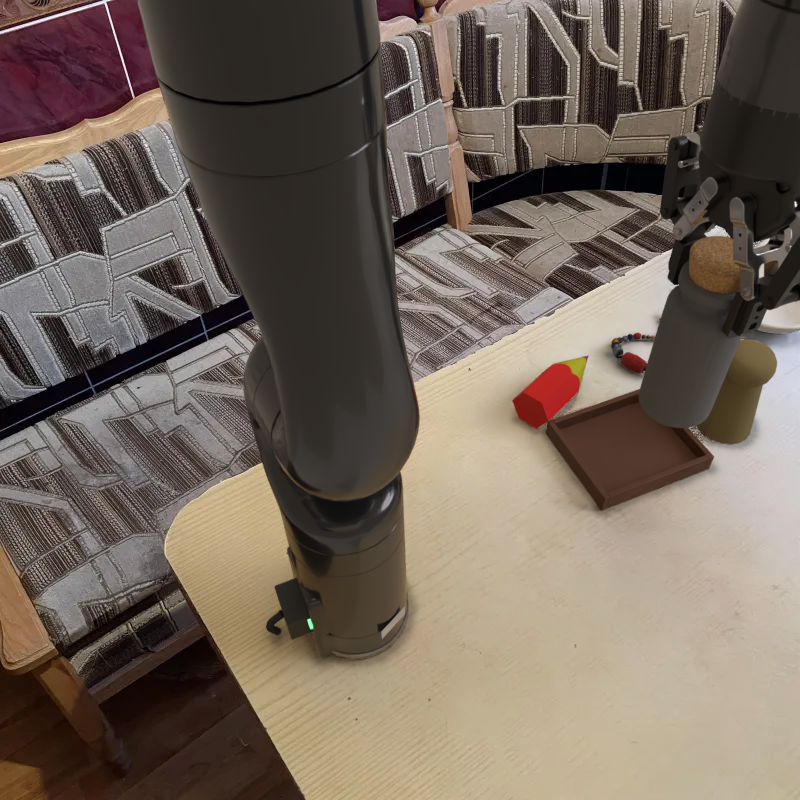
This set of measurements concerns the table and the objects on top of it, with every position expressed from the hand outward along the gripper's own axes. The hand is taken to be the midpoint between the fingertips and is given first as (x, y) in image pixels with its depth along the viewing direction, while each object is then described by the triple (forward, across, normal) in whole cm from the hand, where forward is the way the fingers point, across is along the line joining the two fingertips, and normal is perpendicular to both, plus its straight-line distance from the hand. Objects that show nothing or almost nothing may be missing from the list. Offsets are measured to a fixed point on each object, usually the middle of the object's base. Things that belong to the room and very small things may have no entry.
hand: (708, 304), depth 55 cm
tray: (+28, -8, +4) cm, 29 cm away
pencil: (+28, -18, +2) cm, 33 cm away
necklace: (+28, -20, +16) cm, 38 cm away
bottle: (+11, 0, 0) cm, 11 cm away
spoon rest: (+28, -23, +36) cm, 52 cm away
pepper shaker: (+28, -7, +16) cm, 33 cm away
